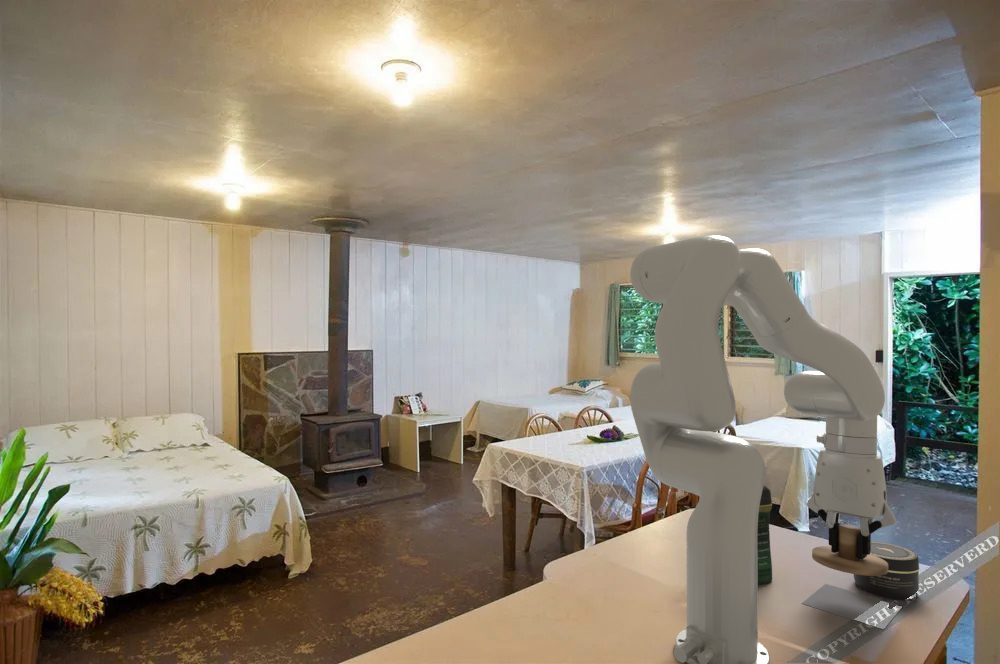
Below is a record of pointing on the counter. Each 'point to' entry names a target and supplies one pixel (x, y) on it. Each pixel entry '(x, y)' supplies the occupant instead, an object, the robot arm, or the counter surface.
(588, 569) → the counter surface
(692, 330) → the robot arm
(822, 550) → the lid
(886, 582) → the jar
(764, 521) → the coffee jar
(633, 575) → the counter surface
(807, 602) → the mat
